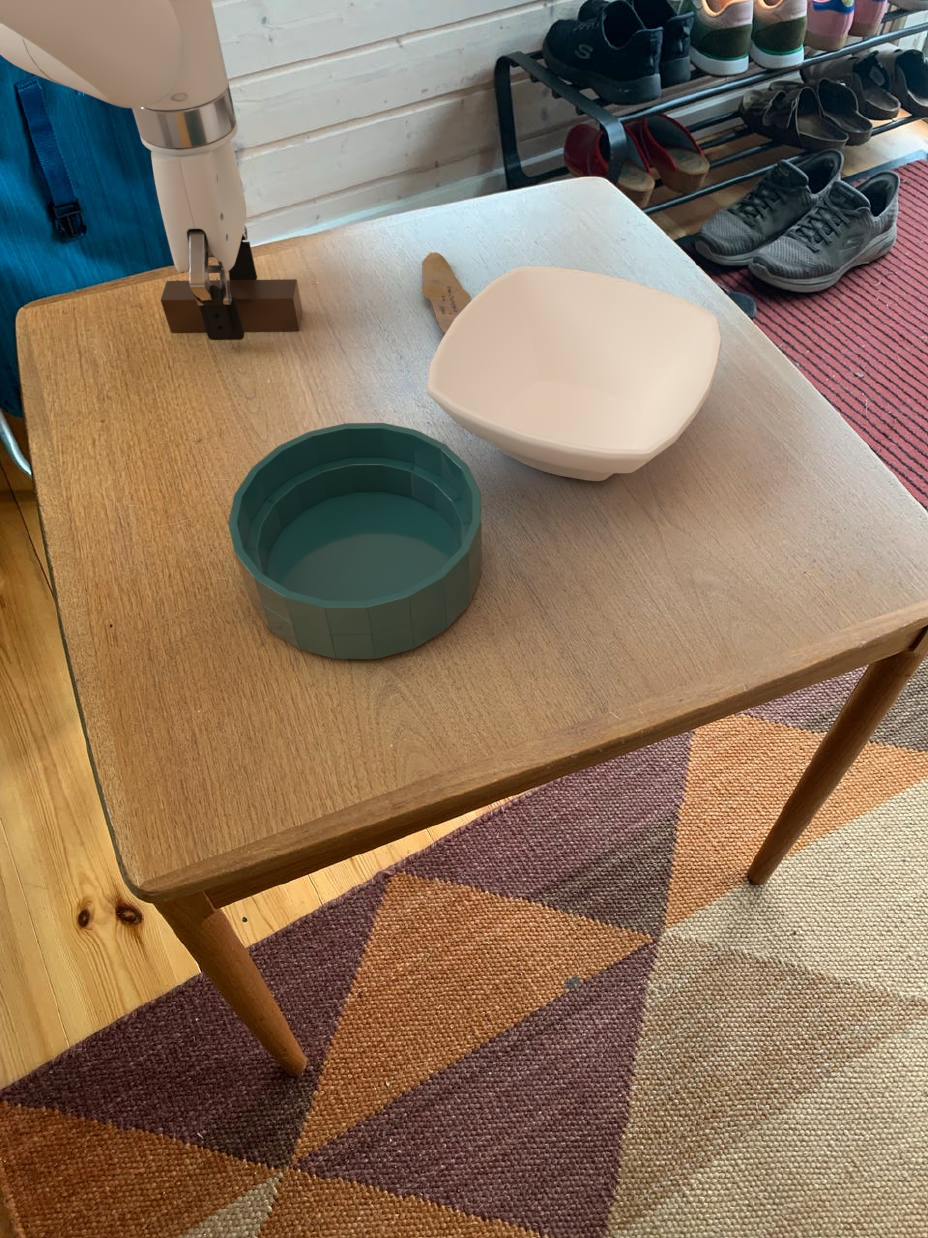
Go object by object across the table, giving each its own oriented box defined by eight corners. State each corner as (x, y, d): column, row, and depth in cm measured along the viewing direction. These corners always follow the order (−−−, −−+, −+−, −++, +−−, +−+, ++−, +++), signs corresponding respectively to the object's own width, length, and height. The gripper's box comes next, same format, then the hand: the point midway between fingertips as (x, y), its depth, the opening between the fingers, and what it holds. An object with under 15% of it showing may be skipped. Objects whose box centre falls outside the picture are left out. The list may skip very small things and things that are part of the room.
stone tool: (403, 262, 91) (441, 353, 82) (407, 247, 90) (445, 338, 81) (452, 267, 93) (495, 356, 84) (456, 252, 92) (499, 341, 83)
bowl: (401, 480, 74) (392, 396, 67) (503, 333, 85) (506, 248, 78) (648, 562, 68) (667, 480, 62) (724, 394, 79) (747, 308, 73)
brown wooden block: (170, 332, 86) (160, 299, 83) (176, 313, 87) (166, 280, 85) (299, 331, 86) (293, 298, 83) (302, 311, 87) (296, 278, 85)
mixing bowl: (232, 665, 64) (210, 608, 58) (265, 485, 74) (248, 423, 69) (482, 663, 63) (482, 606, 58) (480, 483, 74) (479, 421, 68)
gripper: (158, 63, 76) (209, 255, 91) (110, 172, 66) (176, 370, 80) (249, 61, 76) (285, 254, 91) (215, 170, 66) (262, 369, 80)
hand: (233, 308), depth 85 cm, fingers open, 7 cm apart
